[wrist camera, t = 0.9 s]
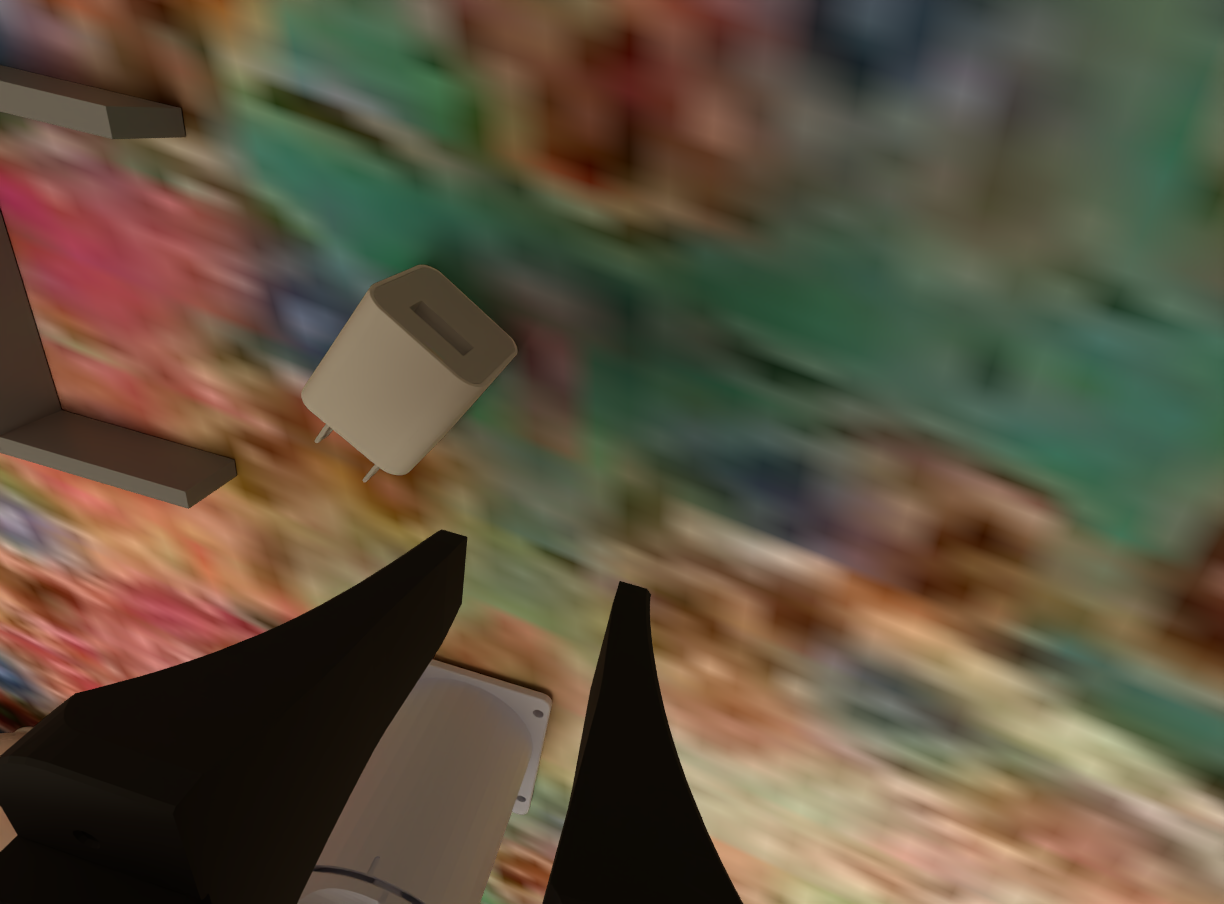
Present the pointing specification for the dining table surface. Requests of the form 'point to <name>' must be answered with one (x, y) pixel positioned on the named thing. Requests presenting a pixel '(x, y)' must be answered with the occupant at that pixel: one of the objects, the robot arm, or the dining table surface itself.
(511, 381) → the dining table surface
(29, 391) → the charging bay
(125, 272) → the dining table surface
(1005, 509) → the dining table surface
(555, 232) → the dining table surface
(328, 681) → the robot arm
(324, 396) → the usb wall charger
